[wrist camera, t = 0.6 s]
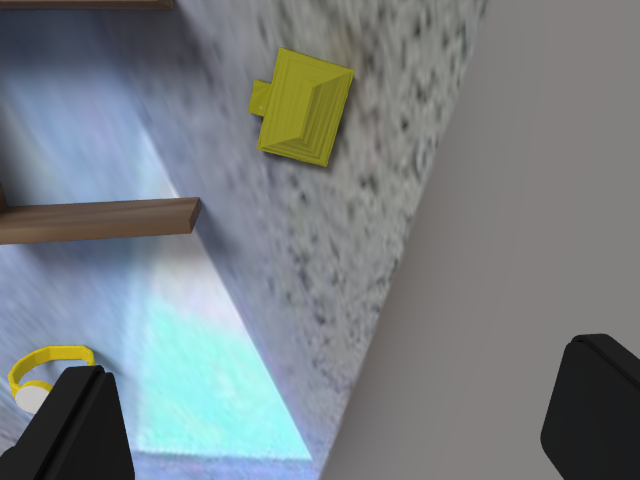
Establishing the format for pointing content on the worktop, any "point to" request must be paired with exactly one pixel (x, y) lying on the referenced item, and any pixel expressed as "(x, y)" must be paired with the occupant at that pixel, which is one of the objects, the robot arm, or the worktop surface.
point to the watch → (37, 391)
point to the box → (98, 216)
